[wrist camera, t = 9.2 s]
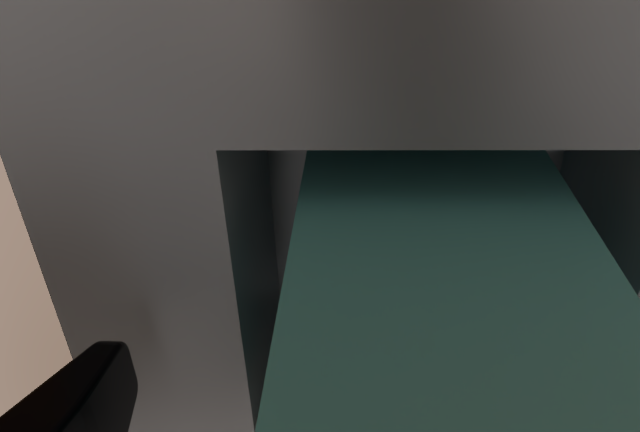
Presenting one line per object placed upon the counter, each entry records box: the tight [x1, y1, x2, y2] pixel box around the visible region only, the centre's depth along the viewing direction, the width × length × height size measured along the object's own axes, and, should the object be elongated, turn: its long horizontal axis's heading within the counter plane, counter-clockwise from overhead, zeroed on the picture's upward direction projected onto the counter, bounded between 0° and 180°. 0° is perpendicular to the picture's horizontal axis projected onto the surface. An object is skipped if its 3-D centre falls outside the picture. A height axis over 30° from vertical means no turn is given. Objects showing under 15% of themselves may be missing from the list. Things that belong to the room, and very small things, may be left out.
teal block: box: [255, 150, 640, 432], centre depth 9 cm, size 4×4×9 cm
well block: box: [0, 0, 640, 432], centre depth 11 cm, size 12×12×4 cm
